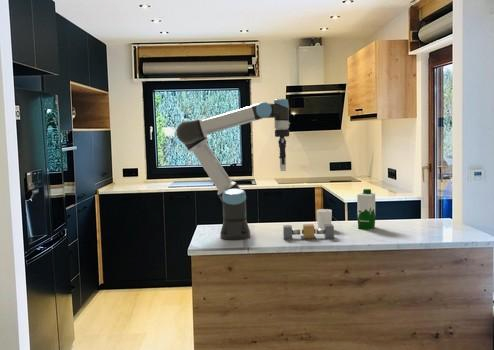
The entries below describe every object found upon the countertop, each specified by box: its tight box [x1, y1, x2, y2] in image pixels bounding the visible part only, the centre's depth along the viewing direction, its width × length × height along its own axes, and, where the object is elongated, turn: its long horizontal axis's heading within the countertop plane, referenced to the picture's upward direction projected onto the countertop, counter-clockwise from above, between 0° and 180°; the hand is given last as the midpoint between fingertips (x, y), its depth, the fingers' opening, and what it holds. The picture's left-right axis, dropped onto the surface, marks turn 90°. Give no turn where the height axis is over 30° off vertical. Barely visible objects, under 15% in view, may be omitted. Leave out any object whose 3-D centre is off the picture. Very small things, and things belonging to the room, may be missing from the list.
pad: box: [300, 235, 317, 241], centre depth 235 cm, size 7×7×1 cm
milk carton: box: [356, 188, 376, 230], centre depth 252 cm, size 9×9×20 cm
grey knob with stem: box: [315, 223, 335, 240], centre depth 234 cm, size 8×5×6 cm, turn 87°
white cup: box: [316, 208, 333, 229], centre depth 253 cm, size 8×8×10 cm
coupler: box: [301, 223, 317, 239], centre depth 235 cm, size 7×5×6 cm
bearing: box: [282, 224, 301, 241], centre depth 235 cm, size 8×5×6 cm, turn 87°
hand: (282, 169), depth 253 cm, fingers open, 13 cm apart
